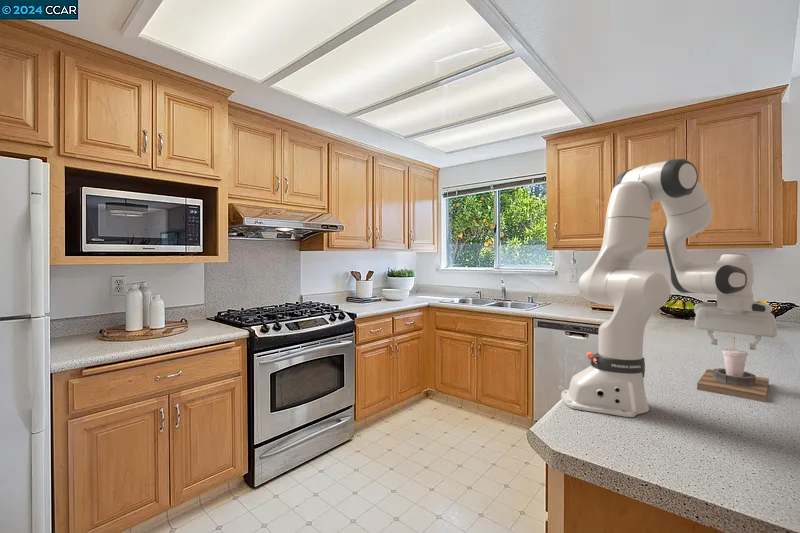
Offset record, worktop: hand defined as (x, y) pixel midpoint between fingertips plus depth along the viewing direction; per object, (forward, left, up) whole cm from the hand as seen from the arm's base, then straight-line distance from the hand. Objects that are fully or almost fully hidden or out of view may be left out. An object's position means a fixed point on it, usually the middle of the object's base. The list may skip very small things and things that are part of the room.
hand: (733, 346), depth 126 cm
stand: (0, 0, -13) cm, 13 cm away
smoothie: (+1, +1, -11) cm, 11 cm away
